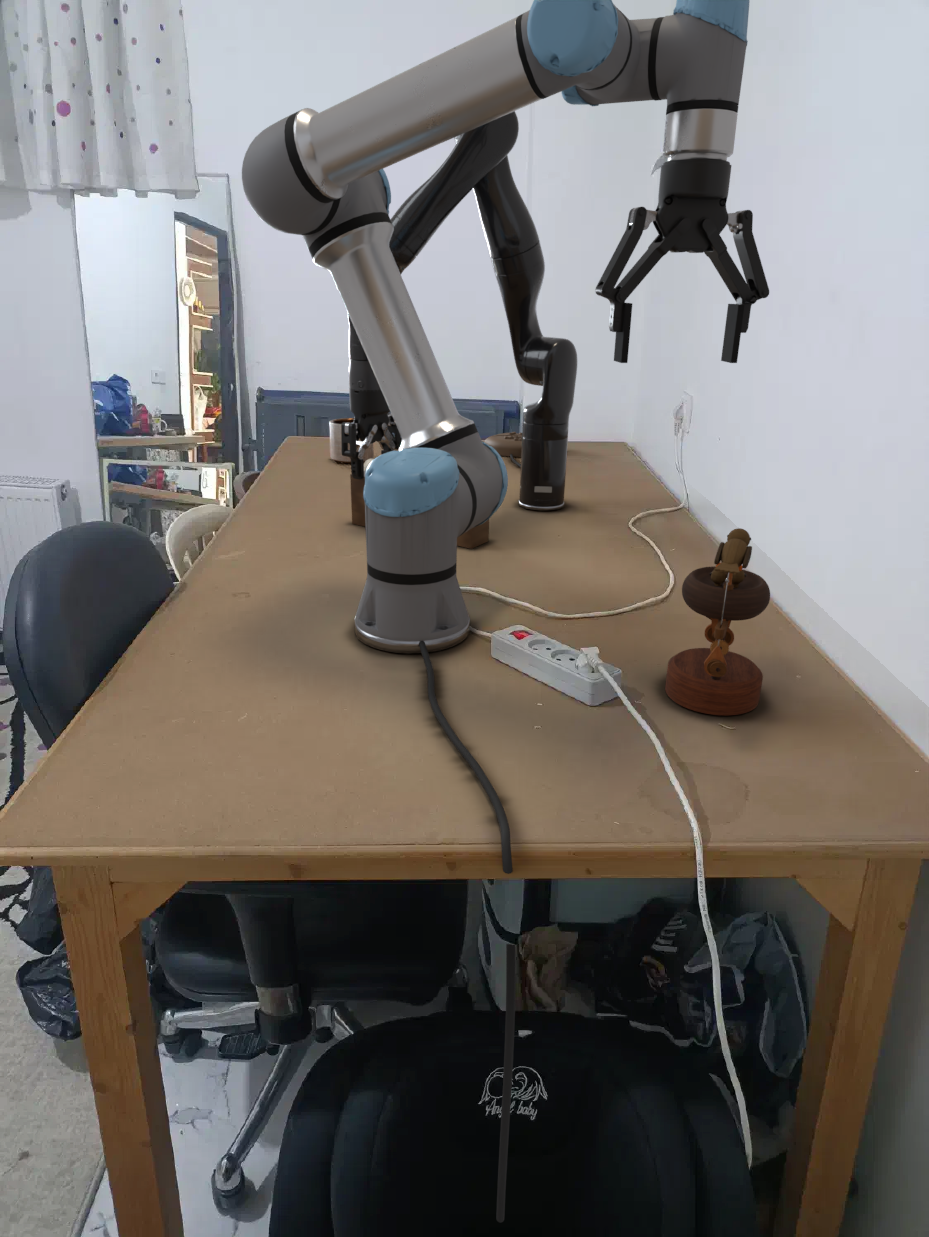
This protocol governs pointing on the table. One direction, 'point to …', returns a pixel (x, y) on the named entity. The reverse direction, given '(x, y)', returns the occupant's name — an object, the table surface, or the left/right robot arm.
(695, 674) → the music box
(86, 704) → the table surface
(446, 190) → the right robot arm
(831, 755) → the table surface
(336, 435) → the planter
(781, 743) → the table surface
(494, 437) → the brown flat oval slab
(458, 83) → the left robot arm
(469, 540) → the bar
